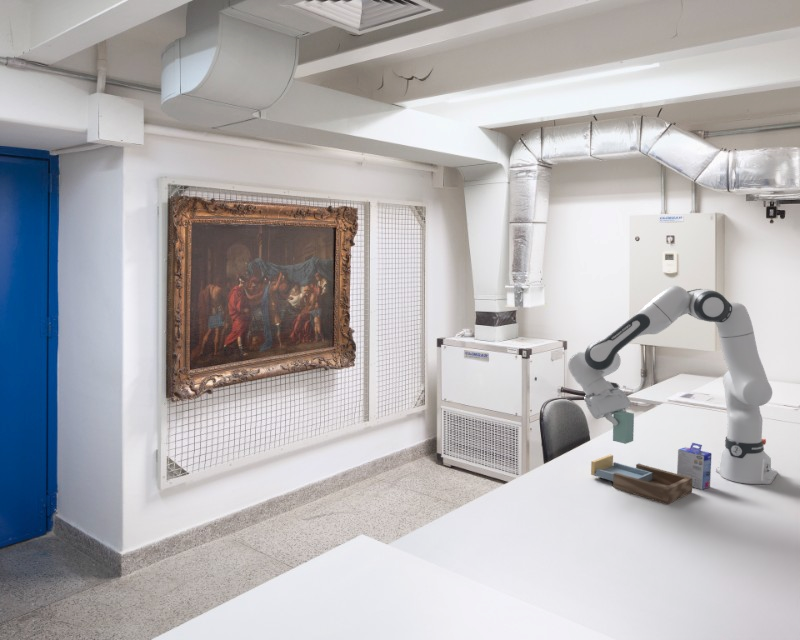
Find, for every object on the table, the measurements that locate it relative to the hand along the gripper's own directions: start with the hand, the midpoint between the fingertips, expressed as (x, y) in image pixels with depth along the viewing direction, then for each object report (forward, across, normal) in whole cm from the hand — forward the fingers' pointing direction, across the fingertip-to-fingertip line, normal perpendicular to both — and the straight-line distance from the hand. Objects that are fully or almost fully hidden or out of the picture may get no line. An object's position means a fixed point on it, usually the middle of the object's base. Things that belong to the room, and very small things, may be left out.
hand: (622, 423), depth 230 cm
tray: (+14, 0, +14) cm, 20 cm away
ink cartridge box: (+28, +15, +2) cm, 32 cm away
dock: (+23, 0, +7) cm, 24 cm away
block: (+5, 0, +4) cm, 6 cm away
